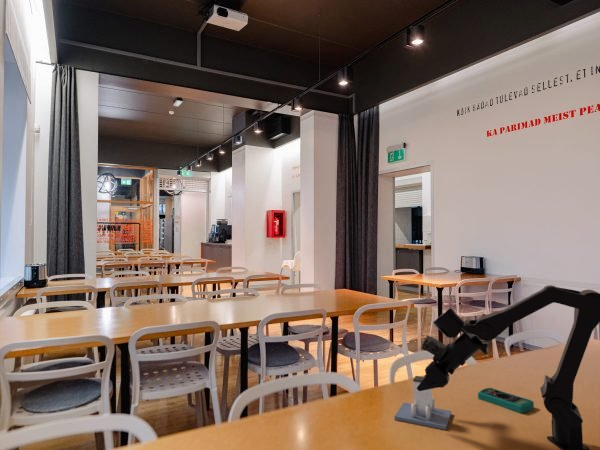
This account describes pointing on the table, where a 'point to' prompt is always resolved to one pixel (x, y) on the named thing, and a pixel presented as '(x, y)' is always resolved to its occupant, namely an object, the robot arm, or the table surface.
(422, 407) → the plate
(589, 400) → the table surface
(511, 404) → the digital multimeter
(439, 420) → the grey pegged base
